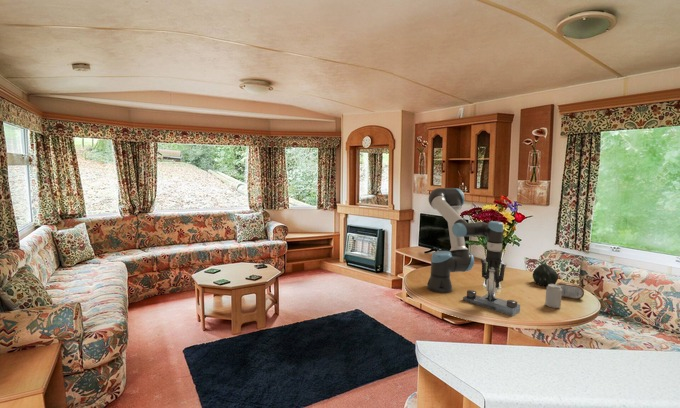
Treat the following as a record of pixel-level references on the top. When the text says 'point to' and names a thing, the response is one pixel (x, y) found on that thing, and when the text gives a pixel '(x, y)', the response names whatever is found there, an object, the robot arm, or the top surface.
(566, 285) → the tin
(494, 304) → the plate with dome knobs
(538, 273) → the squash
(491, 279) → the steel pin
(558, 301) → the can
